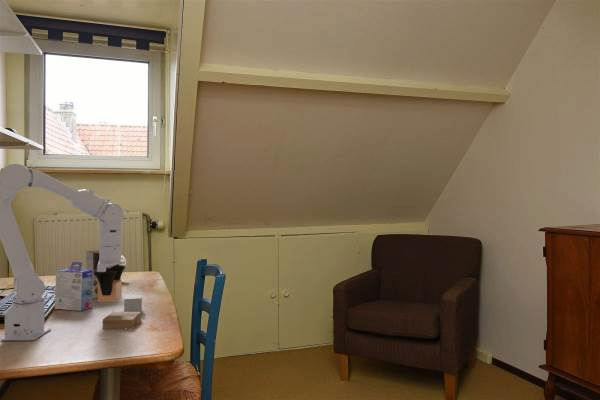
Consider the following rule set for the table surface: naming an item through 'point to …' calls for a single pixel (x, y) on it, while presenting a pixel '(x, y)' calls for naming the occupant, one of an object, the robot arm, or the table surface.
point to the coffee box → (91, 264)
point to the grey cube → (133, 303)
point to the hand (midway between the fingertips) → (110, 293)
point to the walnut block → (121, 320)
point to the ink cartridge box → (73, 288)
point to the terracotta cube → (115, 293)
